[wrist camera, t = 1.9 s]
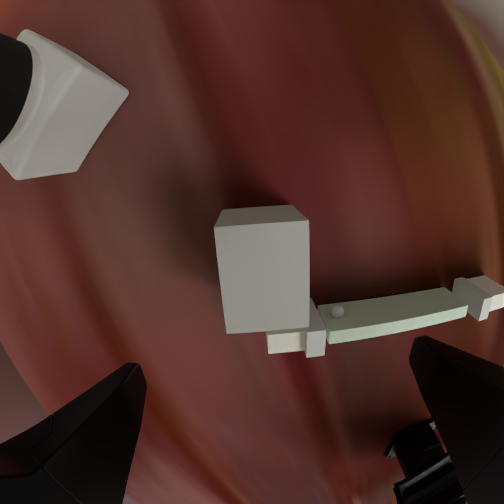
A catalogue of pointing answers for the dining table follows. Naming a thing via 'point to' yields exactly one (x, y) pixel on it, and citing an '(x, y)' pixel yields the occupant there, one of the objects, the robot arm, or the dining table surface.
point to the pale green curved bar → (389, 314)
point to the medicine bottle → (50, 106)
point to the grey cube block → (263, 268)
